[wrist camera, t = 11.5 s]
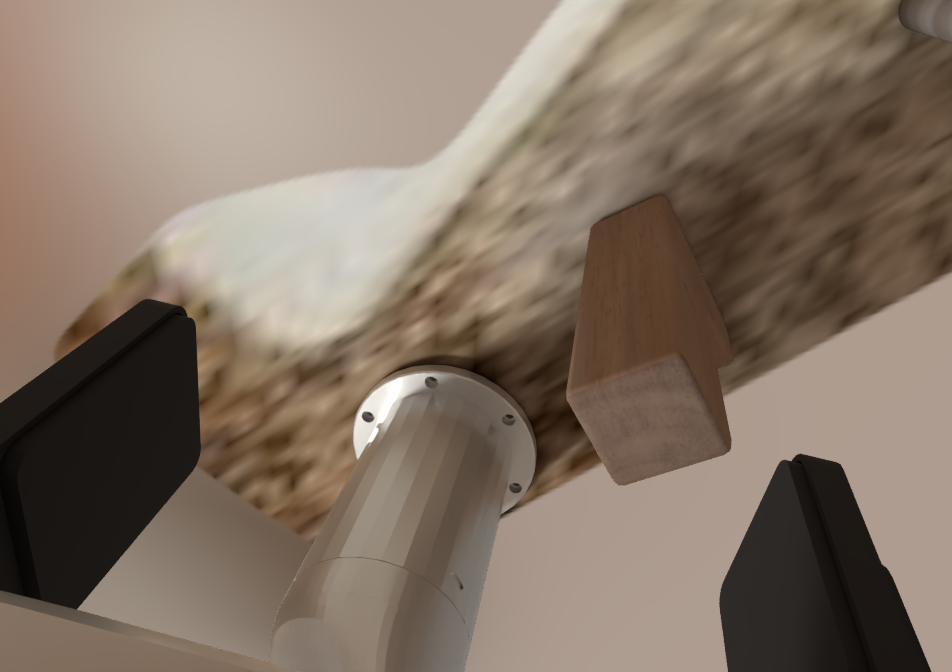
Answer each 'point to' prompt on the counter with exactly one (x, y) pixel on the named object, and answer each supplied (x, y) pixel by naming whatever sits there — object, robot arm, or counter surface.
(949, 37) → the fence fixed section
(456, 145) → the counter surface
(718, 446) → the wooden block
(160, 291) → the counter surface
